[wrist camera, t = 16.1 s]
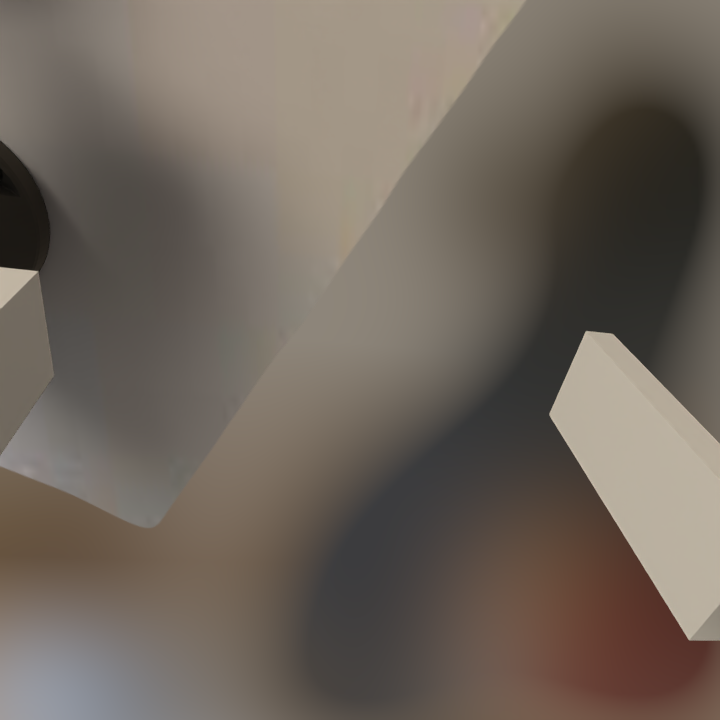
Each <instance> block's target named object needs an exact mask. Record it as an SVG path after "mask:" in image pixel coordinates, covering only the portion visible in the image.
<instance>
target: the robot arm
mask: <svg viewBox="0 0 720 720" xmlns="http://www.w3.org/2000/svg"><path fill="white" fill-rule="evenodd" d="M49 241H50V227H49V220H48V214H47V211H46V207H45V204H44V201H43V198H42V196H41V194H40V191H39V190H38V188H37V186H36V184H35V182H34V180H33V179H32V177H31V176H30V174H29V173H28V171H27V170H26V168H25V167H24V166H23V164H22V163H21V162H20V161H19V160H18V159H17V157H16V156H15V155H14V154H13V153H12V152H11V151H10V150H9V149H8V148H7V147H6V146H5V145H4V144H2V143H1V142H0V455H1V454H2V452H3V451H4V449H5V448H6V446H7V445H8V443H9V442H10V440H11V439H12V437H13V436H14V434H15V433H16V431H17V430H18V429H19V427H20V426H21V424H22V423H23V421H24V420H25V418H26V417H27V415H28V414H29V412H30V411H31V409H32V408H33V406H34V405H35V403H36V402H37V400H38V399H39V397H40V396H41V394H42V393H43V391H44V390H45V388H46V387H47V385H48V384H49V382H50V381H51V379H52V378H53V377H54V370H53V363H52V357H51V350H50V344H49V337H48V331H47V324H46V318H45V311H44V305H43V298H42V291H41V285H40V278H39V271H40V269H41V267H42V265H43V263H44V261H45V259H46V256H47V252H48V248H49ZM549 415H550V417H551V419H552V420H553V422H554V423H555V425H556V427H557V428H558V430H559V431H560V433H561V435H562V436H563V438H564V440H565V441H566V443H567V444H568V446H569V447H570V449H571V451H572V452H573V454H574V456H575V457H576V459H577V460H578V462H579V463H580V465H581V467H582V468H583V470H584V472H585V473H586V475H587V476H588V478H589V480H590V481H591V483H592V485H593V486H594V488H595V489H596V491H597V492H598V494H599V496H600V497H601V499H602V501H603V502H604V504H605V506H606V507H607V509H608V510H609V512H610V514H611V515H612V517H613V518H614V520H615V521H616V523H617V525H618V526H619V528H620V530H621V531H622V533H623V535H624V536H625V538H626V539H627V541H628V542H629V544H630V546H631V547H632V549H633V551H634V552H635V554H636V555H637V557H638V558H639V560H640V562H641V563H642V565H643V567H644V568H645V570H646V571H647V573H648V575H649V576H650V578H651V579H652V581H653V583H654V584H655V586H656V587H657V589H658V591H659V592H660V594H661V596H662V597H663V599H664V601H665V602H666V604H667V605H668V607H669V608H670V610H671V612H672V613H673V615H674V617H675V618H676V620H677V621H678V623H679V625H680V626H681V628H682V630H683V631H684V633H685V634H686V636H687V638H688V639H689V640H720V444H719V443H718V442H717V441H716V440H715V439H714V437H712V435H711V434H710V433H709V432H708V431H707V430H706V429H705V428H704V427H703V426H702V425H701V424H700V423H699V422H698V421H697V420H696V419H695V418H694V417H693V416H692V415H691V414H690V413H689V412H688V411H687V410H686V409H685V408H684V407H683V406H682V405H681V404H680V403H679V402H678V401H677V399H676V398H675V397H674V396H673V395H672V394H671V393H670V392H669V391H668V390H667V389H666V388H665V387H664V386H663V385H662V384H661V383H660V382H659V381H658V380H657V379H656V378H655V377H654V376H653V375H652V374H651V373H650V372H649V371H648V370H647V369H646V368H645V367H644V366H643V365H642V364H641V363H640V362H639V361H638V360H637V359H636V358H635V356H634V355H633V354H632V353H631V352H630V351H629V350H628V349H627V348H626V347H625V346H624V345H623V344H622V343H621V342H620V341H619V340H618V339H617V338H616V337H615V336H614V335H613V334H608V333H598V332H589V331H586V332H585V335H584V337H583V339H582V342H581V344H580V346H579V348H578V351H577V353H576V355H575V357H574V360H573V362H572V364H571V367H570V369H569V371H568V373H567V375H566V378H565V380H564V382H563V385H562V387H561V389H560V391H559V394H558V396H557V398H556V401H555V403H554V405H553V407H552V409H551V412H550V414H549Z"/></svg>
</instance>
